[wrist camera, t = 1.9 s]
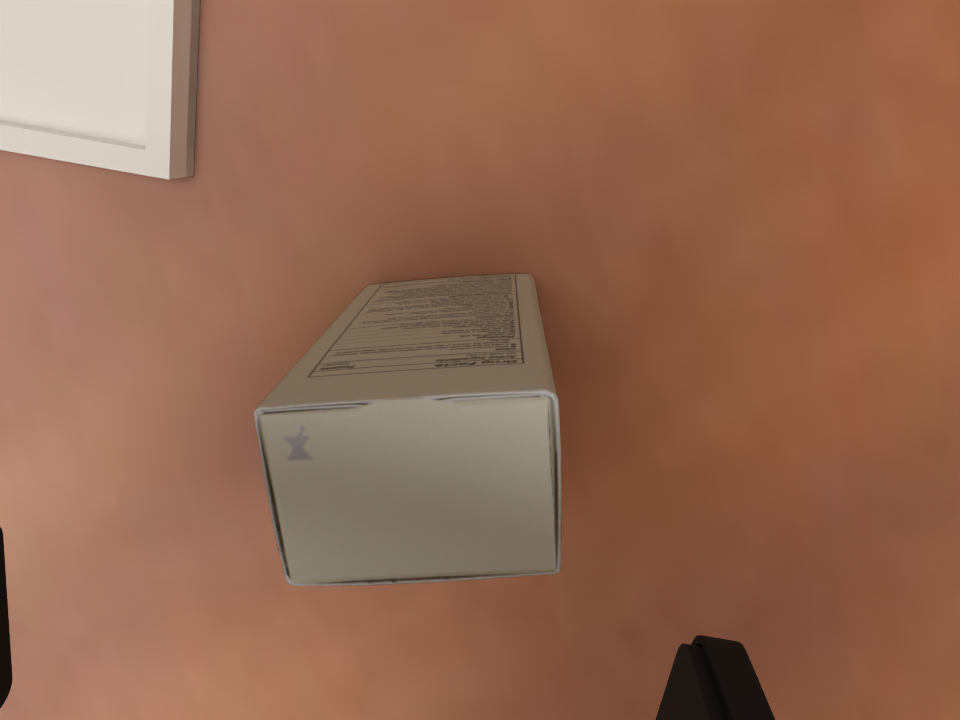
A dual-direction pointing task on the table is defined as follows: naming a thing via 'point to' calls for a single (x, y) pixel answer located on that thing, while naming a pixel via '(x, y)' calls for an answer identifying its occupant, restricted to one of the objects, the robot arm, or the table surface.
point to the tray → (101, 82)
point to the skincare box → (419, 439)
